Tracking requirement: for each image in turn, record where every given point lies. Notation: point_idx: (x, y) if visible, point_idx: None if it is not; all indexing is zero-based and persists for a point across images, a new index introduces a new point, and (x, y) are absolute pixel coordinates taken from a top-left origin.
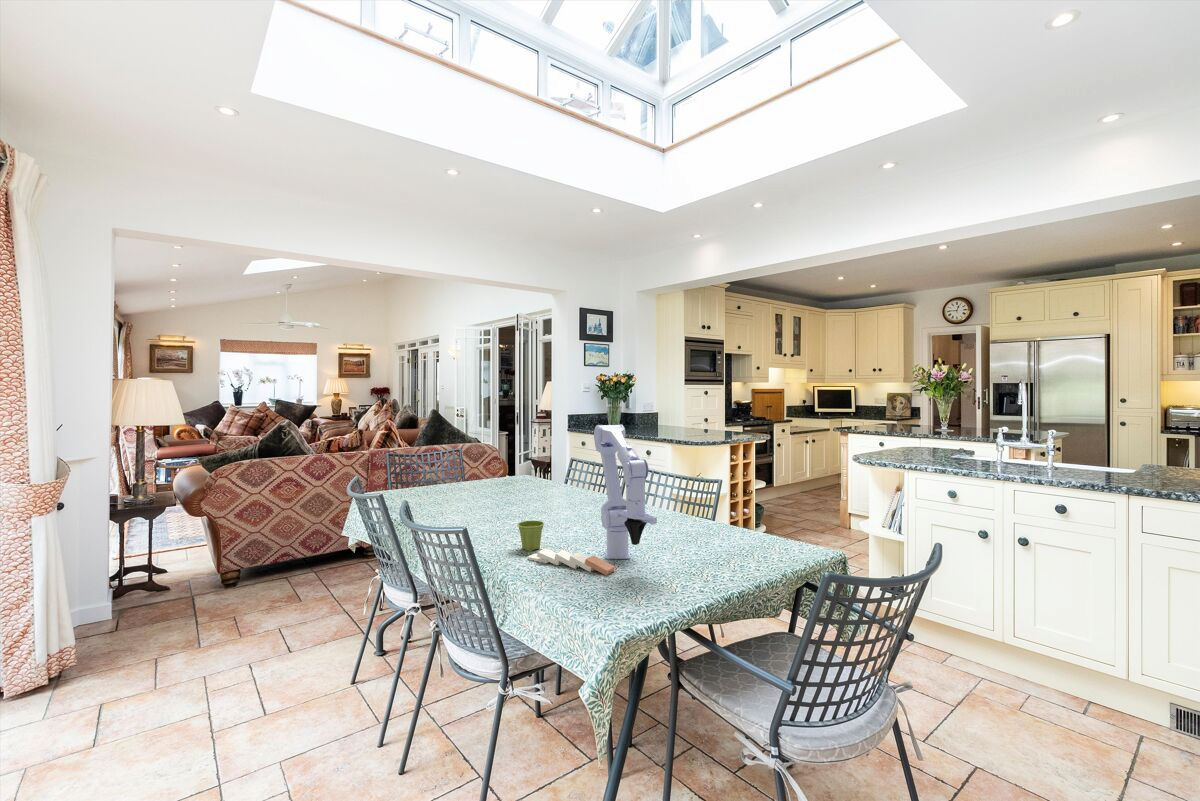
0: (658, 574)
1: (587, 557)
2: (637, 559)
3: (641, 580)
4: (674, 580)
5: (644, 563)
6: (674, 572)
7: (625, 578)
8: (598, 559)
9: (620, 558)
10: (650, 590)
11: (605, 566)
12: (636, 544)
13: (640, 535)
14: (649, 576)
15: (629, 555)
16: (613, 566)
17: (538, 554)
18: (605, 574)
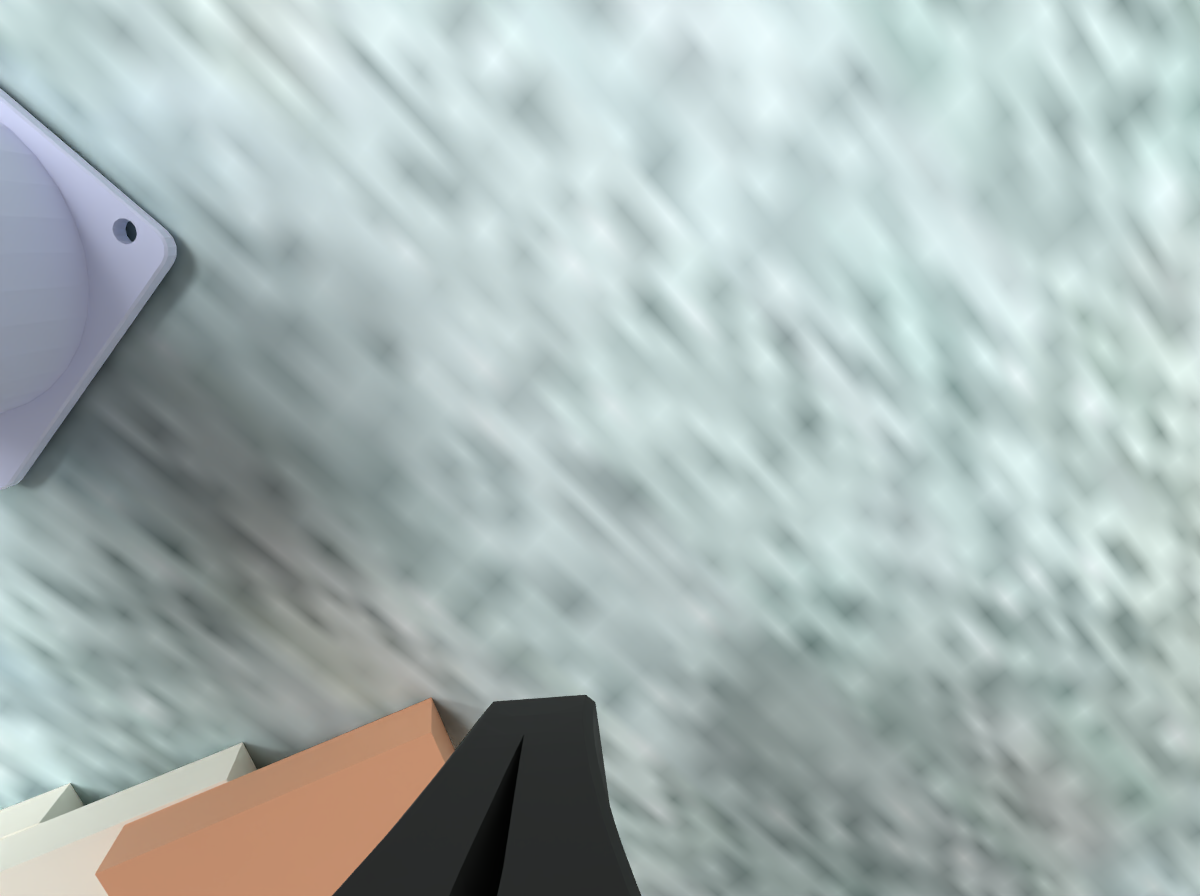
0: (885, 411)
1: (54, 857)
2: (248, 154)
3: (856, 691)
4: (1176, 428)
5: (449, 214)
6: (1013, 182)
7: (687, 759)
8: (222, 857)
9: (112, 349)
10: (1107, 819)
11: None
12: (606, 790)
13: (611, 851)
14: (843, 542)
15: (84, 173)
16: (426, 750)
17: None
18: None
